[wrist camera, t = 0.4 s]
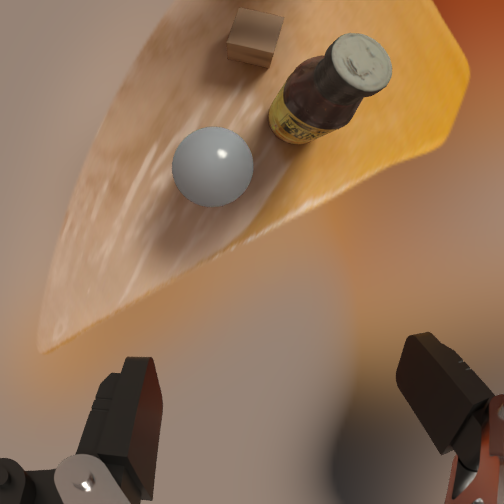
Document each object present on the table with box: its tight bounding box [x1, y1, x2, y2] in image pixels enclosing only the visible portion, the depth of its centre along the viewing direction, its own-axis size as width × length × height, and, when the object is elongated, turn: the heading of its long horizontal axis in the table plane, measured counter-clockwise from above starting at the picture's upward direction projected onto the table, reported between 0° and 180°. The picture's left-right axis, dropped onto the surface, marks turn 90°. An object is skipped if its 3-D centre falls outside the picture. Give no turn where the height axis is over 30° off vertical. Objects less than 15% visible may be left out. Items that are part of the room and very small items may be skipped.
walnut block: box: [227, 7, 284, 68], centre depth 30 cm, size 5×5×5 cm
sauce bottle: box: [268, 33, 392, 144], centre depth 25 cm, size 7×6×20 cm
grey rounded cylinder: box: [172, 127, 253, 207], centre depth 31 cm, size 7×7×9 cm
